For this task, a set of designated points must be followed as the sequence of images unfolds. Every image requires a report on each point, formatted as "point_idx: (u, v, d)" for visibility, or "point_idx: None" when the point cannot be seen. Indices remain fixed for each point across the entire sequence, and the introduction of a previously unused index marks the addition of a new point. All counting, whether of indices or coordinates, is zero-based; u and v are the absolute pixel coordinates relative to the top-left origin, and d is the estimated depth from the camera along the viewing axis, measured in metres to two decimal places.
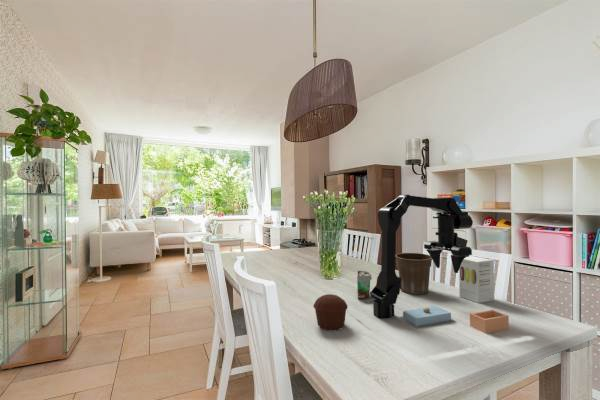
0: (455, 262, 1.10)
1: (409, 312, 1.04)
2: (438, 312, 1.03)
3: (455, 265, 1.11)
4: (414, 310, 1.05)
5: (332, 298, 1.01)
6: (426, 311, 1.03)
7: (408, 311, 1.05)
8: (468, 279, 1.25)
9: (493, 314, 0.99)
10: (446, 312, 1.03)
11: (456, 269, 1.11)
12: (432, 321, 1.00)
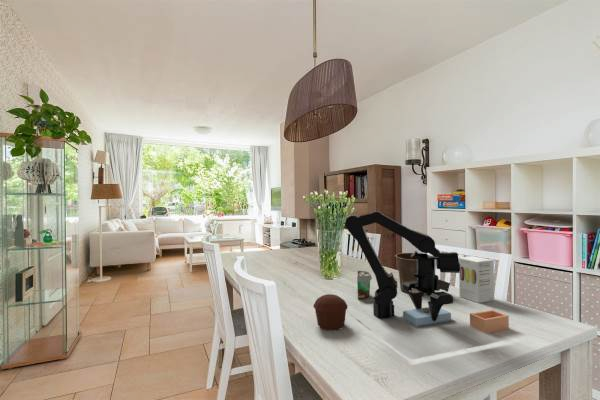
0: (433, 309, 0.98)
1: (409, 312, 1.04)
2: None
3: (433, 313, 0.99)
4: (414, 310, 1.05)
5: (332, 298, 1.01)
6: (426, 311, 1.03)
7: (408, 311, 1.05)
8: (468, 279, 1.25)
9: (493, 314, 0.99)
10: (446, 312, 1.03)
11: (434, 317, 1.00)
12: (432, 321, 1.00)
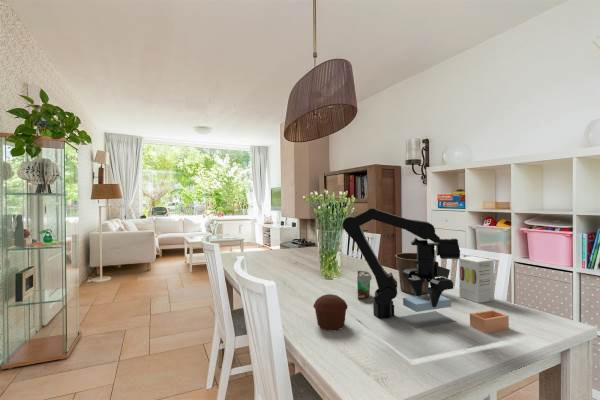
0: (433, 295, 0.98)
1: (409, 299, 1.04)
2: None
3: (433, 299, 0.99)
4: (414, 297, 1.05)
5: (332, 298, 1.01)
6: (426, 298, 1.03)
7: (408, 298, 1.05)
8: (468, 279, 1.25)
9: (493, 314, 0.99)
10: (446, 299, 1.03)
11: (434, 303, 1.00)
12: (432, 307, 1.00)
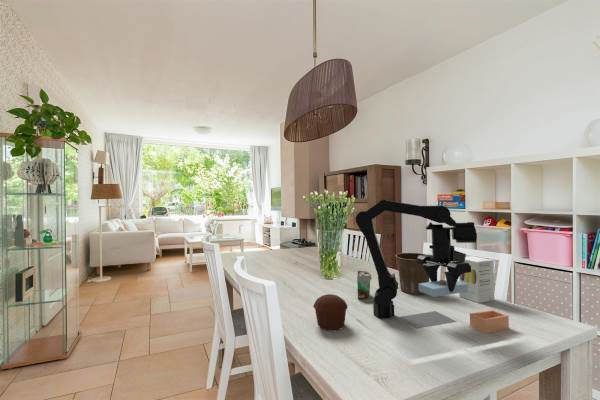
0: (450, 280, 0.96)
1: (425, 284, 1.02)
2: None
3: (450, 283, 0.97)
4: (430, 283, 1.03)
5: (332, 298, 1.01)
6: (442, 283, 1.01)
7: (424, 283, 1.03)
8: (468, 279, 1.25)
9: (493, 314, 0.99)
10: (463, 283, 1.01)
11: (451, 287, 0.98)
12: (449, 292, 0.98)
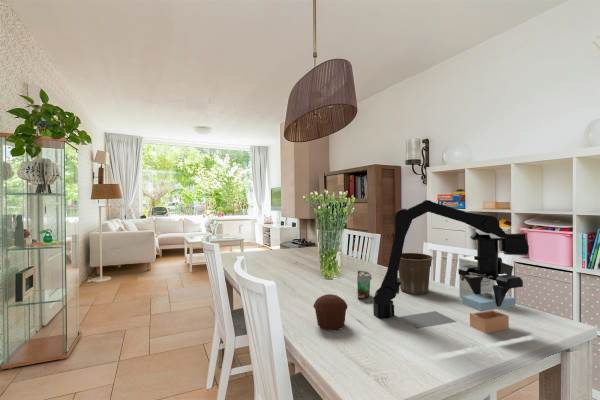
0: (498, 294, 0.91)
1: (469, 297, 0.96)
2: None
3: (498, 297, 0.92)
4: (474, 295, 0.98)
5: (332, 298, 1.01)
6: (488, 296, 0.96)
7: (468, 296, 0.97)
8: None
9: (493, 314, 0.99)
10: (510, 297, 0.96)
11: (499, 302, 0.92)
12: (496, 306, 0.93)
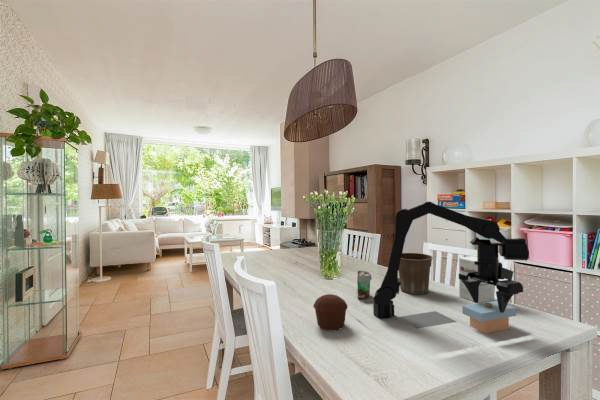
0: (502, 300, 0.90)
1: (470, 307, 0.96)
2: None
3: (501, 304, 0.91)
4: (474, 305, 0.98)
5: (332, 298, 1.01)
6: (489, 306, 0.96)
7: (468, 306, 0.97)
8: None
9: None
10: (510, 307, 0.96)
11: (502, 308, 0.91)
12: (497, 316, 0.93)
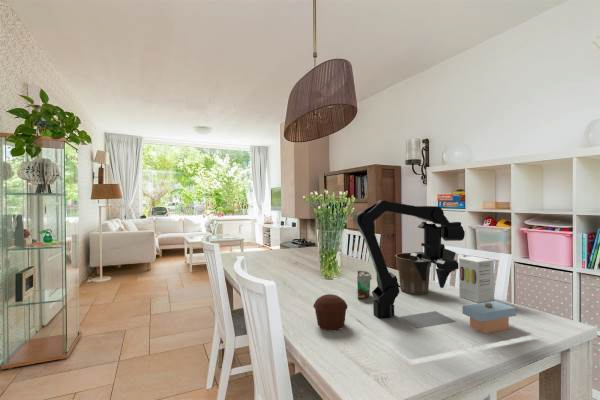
0: (440, 276, 1.02)
1: (470, 307, 0.96)
2: (502, 307, 0.96)
3: (440, 279, 1.03)
4: (474, 305, 0.98)
5: (332, 298, 1.01)
6: (489, 306, 0.96)
7: (468, 306, 0.97)
8: (468, 279, 1.25)
9: None
10: (510, 307, 0.96)
11: (442, 284, 1.03)
12: (497, 316, 0.93)
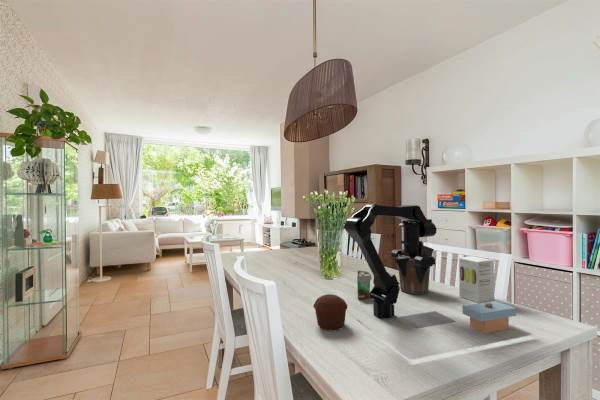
0: (419, 272, 1.08)
1: (470, 307, 0.96)
2: (502, 307, 0.96)
3: (419, 275, 1.08)
4: (474, 305, 0.98)
5: (332, 298, 1.01)
6: (489, 306, 0.96)
7: (468, 306, 0.97)
8: (468, 279, 1.25)
9: None
10: (510, 307, 0.96)
11: (420, 279, 1.09)
12: (497, 316, 0.93)
